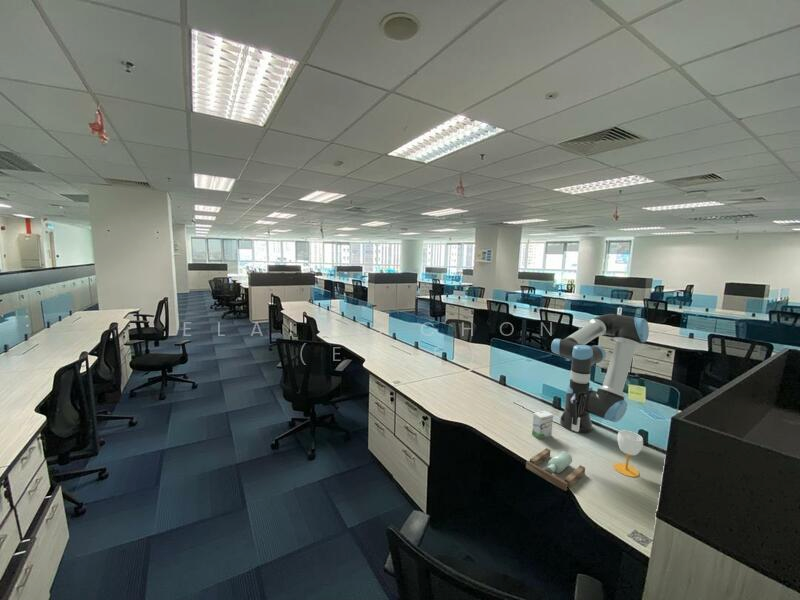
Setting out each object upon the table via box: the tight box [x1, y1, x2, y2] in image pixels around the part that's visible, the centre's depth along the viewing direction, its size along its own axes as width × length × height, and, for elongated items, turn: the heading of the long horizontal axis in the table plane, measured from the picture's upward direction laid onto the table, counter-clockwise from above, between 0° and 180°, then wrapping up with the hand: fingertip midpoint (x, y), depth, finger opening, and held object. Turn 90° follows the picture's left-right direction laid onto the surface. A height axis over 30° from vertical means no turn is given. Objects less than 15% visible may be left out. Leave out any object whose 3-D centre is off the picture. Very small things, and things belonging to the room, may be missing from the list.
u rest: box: [525, 447, 586, 492], centre depth 137 cm, size 17×17×3 cm
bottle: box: [543, 450, 573, 475], centre depth 137 cm, size 6×6×16 cm
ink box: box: [531, 410, 554, 440], centre depth 163 cm, size 8×5×12 cm, turn 111°
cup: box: [613, 429, 644, 478], centre depth 137 cm, size 9×9×16 cm
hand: (575, 430), depth 145 cm, fingers closed
